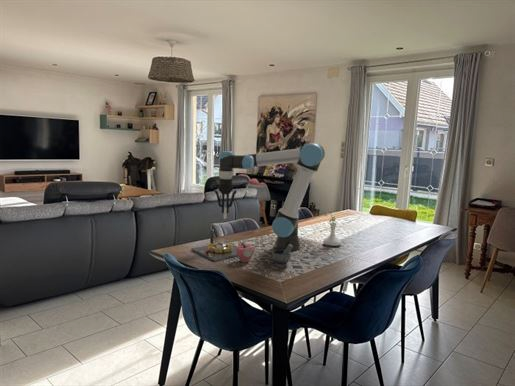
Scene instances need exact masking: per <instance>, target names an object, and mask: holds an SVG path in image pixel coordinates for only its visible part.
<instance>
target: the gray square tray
mask: <svg viewBox="0 0 515 386" xmlns="http://www.w3.org/2000/svg"><path fill="white" fill-rule="evenodd" d="M215 243H216V244H215V247H216V248H217V247H218V246H221V248H226V244H225V243H228V244H232V246H233V249H232V251H231V252H226V253H215V252H211V251H209V244H208V245H202V246H201V245H200V246H197V247H192V248H191V249H190V250H191V251H192V252H194V253H196V254H198V255H200V256H202V257H204V258H206V259H209V260H210V261H213V262H219V261H223V260H227V259H233V258H238V256H237V253H236V249H237V247H239V246H237V245H235V244H233V243H231V242H227V241H224V243H221V242H215Z"/></svg>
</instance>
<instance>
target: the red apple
mask: <svg viewBox="0 0 515 386" xmlns="http://www.w3.org/2000/svg"><path fill="white" fill-rule="evenodd" d="M236 253H237V258H238V259H239V261H240V262H241V263H248V262H249V261H250V260H251V258H252V257H253V255H254V253H255V248H254V246H253V245H251V244H244V243H243V242H241V243H240V245H239V246H238V247H237V249H236Z"/></svg>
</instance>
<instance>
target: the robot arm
mask: <svg viewBox="0 0 515 386" xmlns="http://www.w3.org/2000/svg"><path fill="white" fill-rule="evenodd" d="M325 154H326V152H325V149H324V147H323V145H321V144H319V143H317V142H316V143H315V142H311V143H310V142H309V143H307V144H305V145H302V146H299V147H298V148H292V149H283V150H277V151H276V150H275V151H268V152H259V153H252V154H251V153H250V154H243V155H238V154H237V155H236V154H234V152H233V151H229V150H227V151H226V150H222V151H220V152H219V175H218V176H219V181H218V188H217V189H214V193H215V195H216V199H217V204H218V207H220V208H221V213H222V214H223V220H227V215H228V214H229V209H230V208H231V207H232V206H233V203H234V200H235V196H236V194H237V190H236V189H234V187H233V179H232V178H233V169H239V170H252V169H254V168H255V167H265V166H274V165H283V164H291V163H292V164H293V163H296V166H297V167H298V168H297V170H296V173H295V174H294V178H293V180H292V183H291V185H290V188H289V191H288V194H287V196H286V198H285V201H284V204H283V206H282V207H281V208H279V209H278V212H277V213H276V217H275V219H274V220H273V221H272V224H271V228H272V229H271V230H272V231H273V233H274V235H276V236H277V237H276V241H275V243H274V248H275V249H276V250H286V248H287V247H288V244H291V245H292V246H293V248H292V249H291V251H290V252H292V251H297V250H300V249H301V243H300V238H299V217H300V214H299V210H300V207H301V206H302V203H303V201H304V200H303V199H304V198H305V195H306V192H307V190H308V187H309V185H310V183H311V181H312V177H313V175H314V173H317V172H318V171H319V168H320V165H321V162H322V161H323V160H324V158H325ZM219 192H220V194H221V199H220V194H219ZM231 192H232V193H231ZM230 194H231V196H230ZM225 195H226V198H225ZM225 200H226V202H225ZM225 203H226V205H225Z"/></svg>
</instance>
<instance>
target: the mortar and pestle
mask: <svg viewBox="0 0 515 386" xmlns="http://www.w3.org/2000/svg"><path fill="white" fill-rule="evenodd" d="M292 248H293V246H292V245H291V244H288V247H287V248H286V250H280V249H275V250H272V251H271V257H272V260H273V261H274V265H275V267H279V268H285V267H287V266H288V262H289V261H290V260H291V257H292V251H291V249H292Z"/></svg>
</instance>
